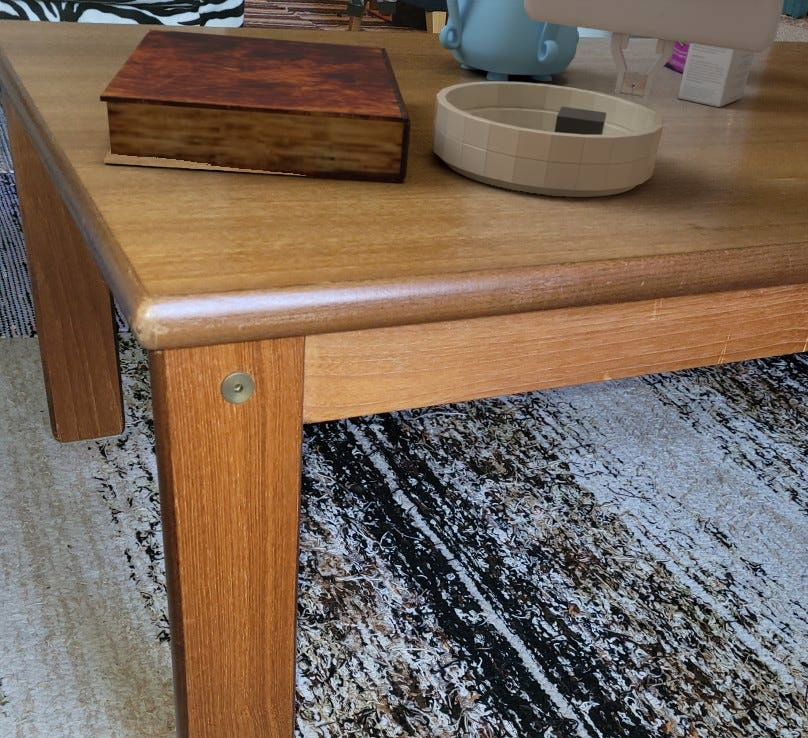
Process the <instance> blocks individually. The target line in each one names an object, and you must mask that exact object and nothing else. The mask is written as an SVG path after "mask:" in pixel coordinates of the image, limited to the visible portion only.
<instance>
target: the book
mask: <svg viewBox="0 0 808 738" xmlns="http://www.w3.org/2000/svg"><path fill="white" fill-rule="evenodd" d="M125 60H126V61H125V62H124V63H123V64H122V66H121V67H120V69H119V70H118V71H117V73H116V74H115V75H114V77H113V78H112V79H111V80H110V82H109V83H108V85H107V86H106V87H105V88H104V90H103V91H102V92H101V94H100V95H99V101H100V102H103V103H105V102H106V109H107V111H106V112H107V121H108V134H109V148H110V147H111V154H118V155H127V156H137V157H156V158H157V157H158V158H166V159H176V160H184V161H191V162H197V163H208V164H211V166H220V167H230V168H239V169H251V170H263V171H270V172H282V173H293V174H300V175H306V176H313V177H312V178H317V177H320V178H321V179H332V180H333V179H336V180H348V181H349V180H351V181H364V182H365V181H366V182H379V183H383V182H384V183H395V184H397V183H398V182H400V184H404V182H405V179H406V178H407V171H408V162H409V160H408V159H409V148H410V147H409V146H410V138H411V137H410V136H411V126H412V124H411V123H412V121H411V119H410V116H409V113H408V110H407V107H406V104H405V101H404V98H403V96H402V92H401V90H400V86H399V83H398V80H397V77H396V75H395V71H394V69H393V66H392V63H391V60H390V58H389V54H388V51H387V49H386V48H385V47H382V48H381V47H377V46H368V45H367V46H365V45H353V44H341V43H340V44H339V43H329V42H328V43H326V42H315V41H301V40H292V39H291V40H289V39H288V40H287V39H280V38H279V39H278V38H265V37H254V36H241V35H227V34H216V33H215V34H214V33H203V32H202V33H201V32H189V31H177V30H164V29H152V28H149V30H148V31H147V32H146V34H145V35H144V37H143V38H142V39H141V41H140V42H139V43H138V44H137V46H136V47H135V48H134V50H133V51H132V52H131V54H130V55H129V56H128V57H127V59H125ZM208 164H207V165H208Z"/></svg>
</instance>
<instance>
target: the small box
mask: <svg viewBox="0 0 808 738" xmlns="http://www.w3.org/2000/svg"><path fill="white" fill-rule="evenodd" d="M754 56H755V52H750V51H743V50H736V49H729V48H721V47H714V46H707V45H700V44H693V43H690V46H689V50H688V54H687V59H686V63H685V67H684V72H683V73H682V77H681V81H680V85H679V90H678V93H677V99H678V100H683V101H689V102H692V103H696V104H701V105H706V106H711V107H716V108H722V107H723V106H727V105H729V104H731V103H733V102H736V101H738V100H741V99H742V98H743V96H744V93H745V88H746V85H747V81H748V77H749V74H750V70H751V67H752V63H753V59H754Z"/></svg>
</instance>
